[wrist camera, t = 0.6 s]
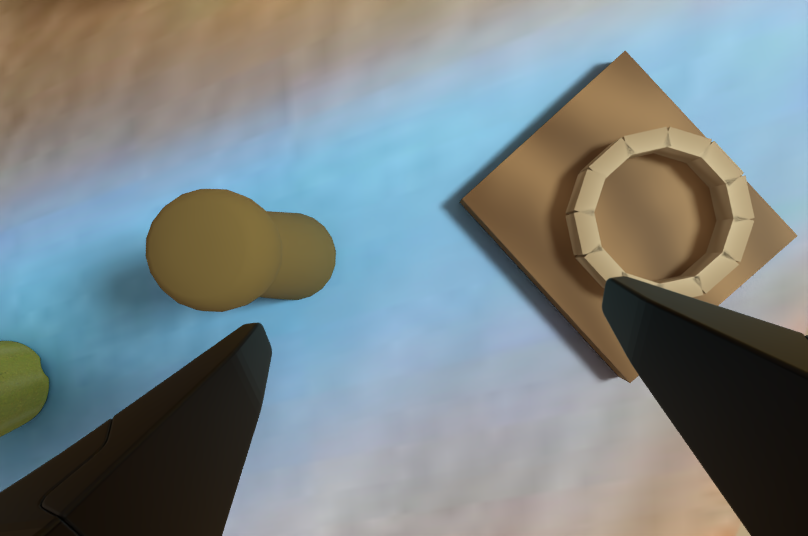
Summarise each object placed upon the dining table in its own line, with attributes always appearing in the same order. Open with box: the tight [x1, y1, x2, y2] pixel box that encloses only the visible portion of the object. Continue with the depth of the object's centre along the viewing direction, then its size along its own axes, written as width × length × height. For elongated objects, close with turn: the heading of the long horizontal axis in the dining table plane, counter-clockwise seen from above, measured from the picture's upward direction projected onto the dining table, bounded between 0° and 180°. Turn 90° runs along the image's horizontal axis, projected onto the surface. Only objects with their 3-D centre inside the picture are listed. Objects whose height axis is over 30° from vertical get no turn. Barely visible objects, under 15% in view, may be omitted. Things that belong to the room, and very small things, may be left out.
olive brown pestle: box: [146, 189, 336, 312], centre depth 19 cm, size 6×6×11 cm
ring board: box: [460, 51, 797, 383], centre depth 22 cm, size 14×16×2 cm
